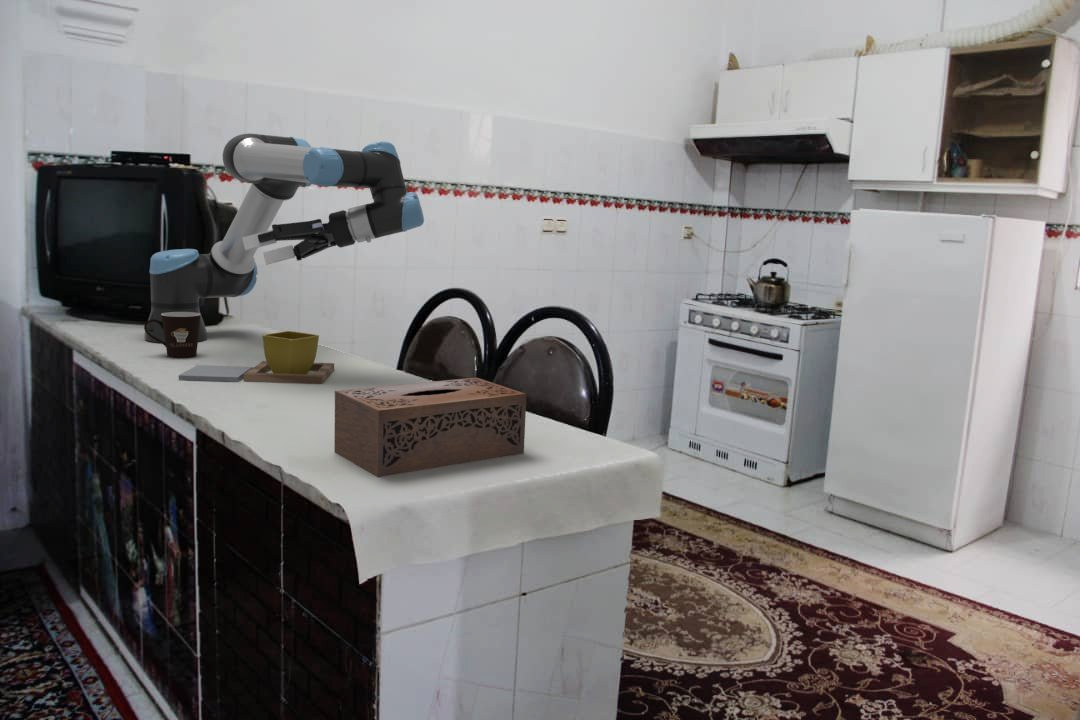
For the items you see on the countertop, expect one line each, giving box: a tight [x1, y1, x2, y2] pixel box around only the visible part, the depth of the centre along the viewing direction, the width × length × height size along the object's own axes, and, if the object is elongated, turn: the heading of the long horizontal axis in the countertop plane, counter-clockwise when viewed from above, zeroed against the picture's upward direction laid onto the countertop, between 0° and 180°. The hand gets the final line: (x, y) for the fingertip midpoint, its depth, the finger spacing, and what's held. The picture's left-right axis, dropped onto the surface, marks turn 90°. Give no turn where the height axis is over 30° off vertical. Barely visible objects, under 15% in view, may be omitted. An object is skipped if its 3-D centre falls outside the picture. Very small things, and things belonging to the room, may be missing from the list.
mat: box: [178, 364, 254, 383], centre depth 190 cm, size 12×12×1 cm
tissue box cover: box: [333, 377, 527, 478], centre depth 138 cm, size 26×14×10 cm, turn 127°
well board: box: [243, 360, 335, 385], centre depth 194 cm, size 16×16×2 cm
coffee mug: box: [143, 312, 202, 359], centre depth 210 cm, size 12×9×10 cm
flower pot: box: [261, 330, 320, 374], centre depth 193 cm, size 9×9×9 cm
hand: (254, 251), depth 190 cm, fingers open, 13 cm apart
